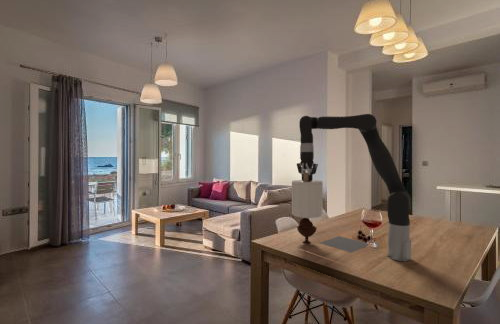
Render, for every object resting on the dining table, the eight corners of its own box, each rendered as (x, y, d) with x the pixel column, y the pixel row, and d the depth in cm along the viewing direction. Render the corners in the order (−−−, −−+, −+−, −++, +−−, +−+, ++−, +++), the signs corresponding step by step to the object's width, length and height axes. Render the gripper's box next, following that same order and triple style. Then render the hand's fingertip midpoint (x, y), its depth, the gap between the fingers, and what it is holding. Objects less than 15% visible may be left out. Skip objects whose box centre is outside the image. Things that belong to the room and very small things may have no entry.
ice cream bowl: (317, 247, 152) (317, 220, 151) (296, 246, 154) (296, 219, 154) (316, 241, 162) (316, 216, 162) (297, 240, 165) (297, 215, 164)
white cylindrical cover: (328, 214, 156) (328, 172, 155) (309, 219, 145) (309, 174, 145) (305, 210, 170) (304, 171, 169) (285, 214, 159) (285, 172, 158)
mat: (370, 245, 155) (370, 244, 155) (351, 253, 142) (351, 252, 142) (339, 236, 170) (339, 236, 170) (319, 243, 158) (319, 242, 157)
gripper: (321, 151, 153) (321, 181, 154) (301, 151, 164) (301, 179, 165) (312, 151, 148) (312, 182, 149) (293, 151, 159) (293, 180, 160)
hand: (306, 181), depth 157 cm, fingers closed on white cylindrical cover, 4 cm apart
